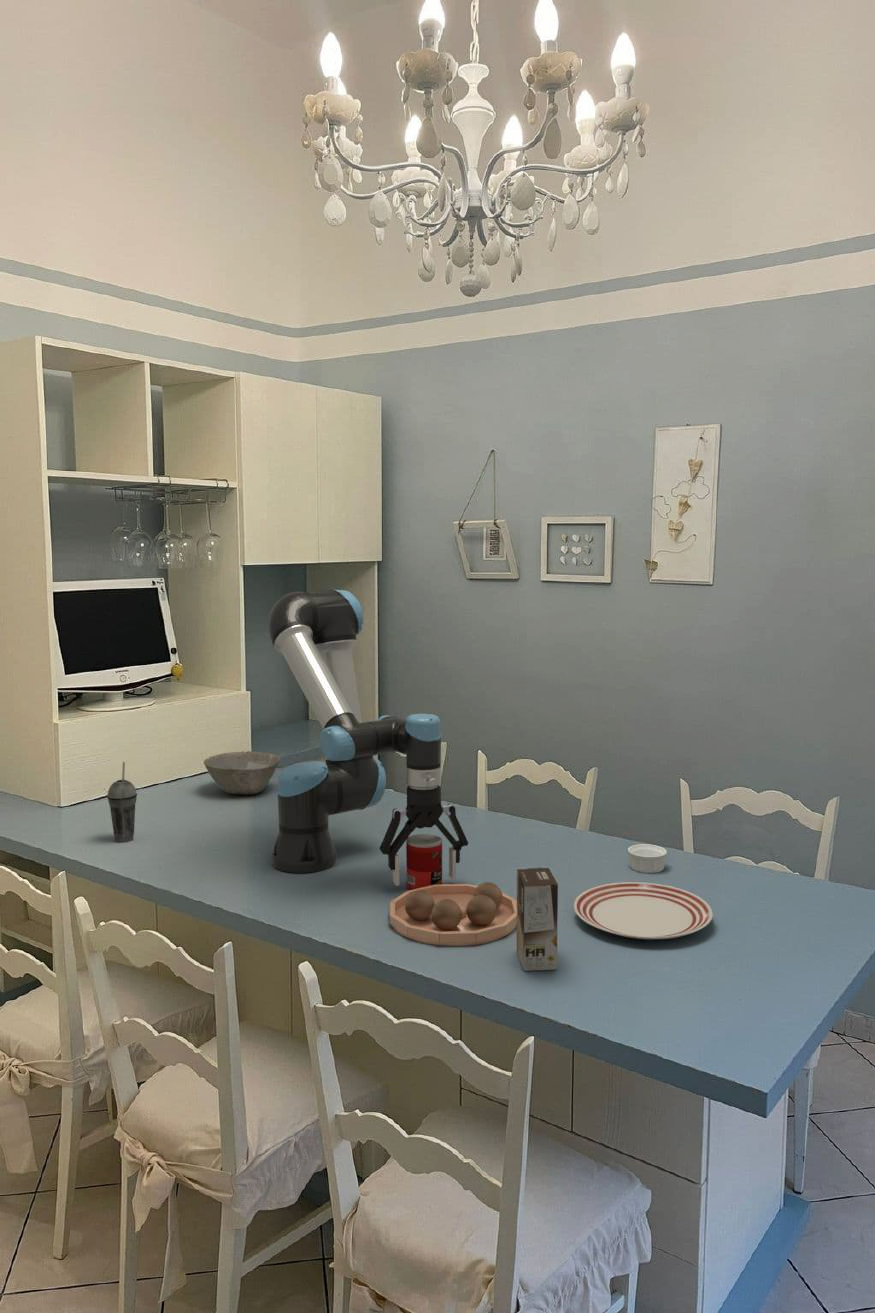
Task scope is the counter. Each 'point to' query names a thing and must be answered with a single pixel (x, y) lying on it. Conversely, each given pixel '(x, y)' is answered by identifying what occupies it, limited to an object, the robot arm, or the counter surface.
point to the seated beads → (455, 907)
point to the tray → (466, 929)
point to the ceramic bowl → (242, 771)
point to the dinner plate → (643, 910)
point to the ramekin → (647, 858)
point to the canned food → (423, 861)
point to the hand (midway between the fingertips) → (424, 880)
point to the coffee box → (537, 919)
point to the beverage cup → (122, 808)
